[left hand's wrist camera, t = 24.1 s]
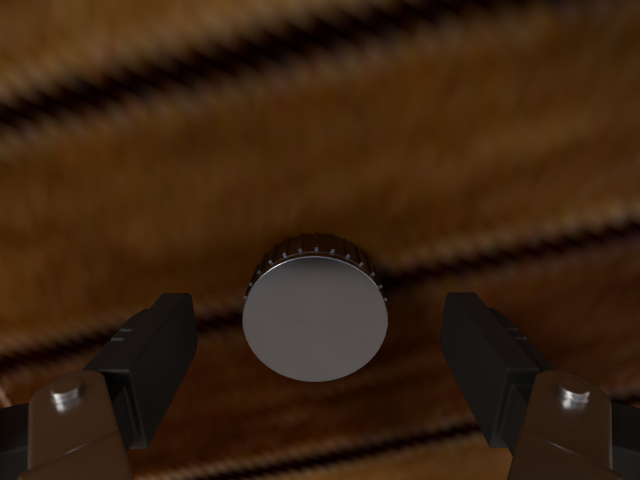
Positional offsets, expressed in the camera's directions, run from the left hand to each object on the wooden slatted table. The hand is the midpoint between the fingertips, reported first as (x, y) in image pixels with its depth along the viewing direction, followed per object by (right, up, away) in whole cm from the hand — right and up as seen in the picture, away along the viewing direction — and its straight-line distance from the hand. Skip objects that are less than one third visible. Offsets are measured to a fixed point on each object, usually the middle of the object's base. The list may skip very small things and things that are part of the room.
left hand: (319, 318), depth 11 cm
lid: (0, 0, 0) cm, 0 cm away
